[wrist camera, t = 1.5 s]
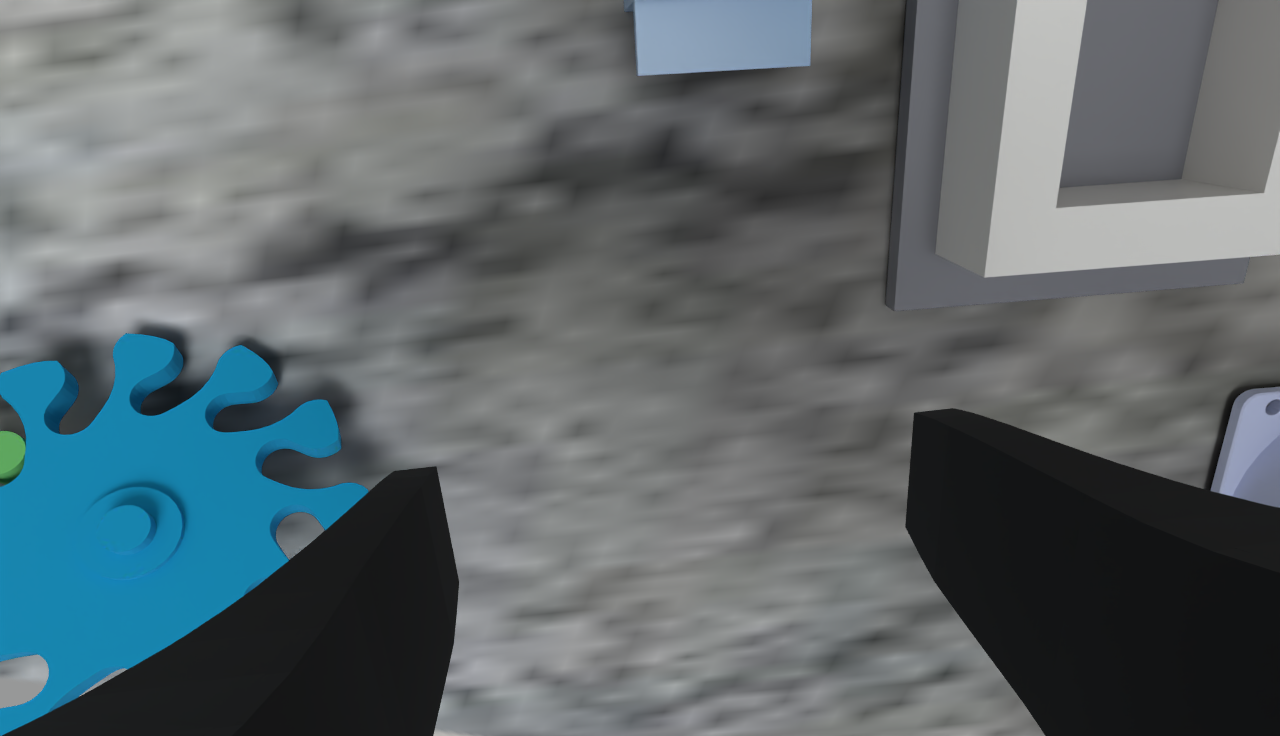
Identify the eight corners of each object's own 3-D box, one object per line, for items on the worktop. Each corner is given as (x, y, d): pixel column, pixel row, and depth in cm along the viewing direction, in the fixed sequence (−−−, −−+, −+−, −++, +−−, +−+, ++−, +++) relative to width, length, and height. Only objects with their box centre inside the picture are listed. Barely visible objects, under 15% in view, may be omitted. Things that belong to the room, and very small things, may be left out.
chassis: (1363, -293, 17) (1530, -370, 14) (1225, 277, 21) (1328, 308, 18) (926, -280, 16) (1005, -358, 13) (885, 304, 21) (936, 342, 18)
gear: (440, 422, 19) (210, 867, 14) (435, 481, 24) (265, 821, 20) (11, 238, 18) (-385, 656, 13) (102, 341, 23) (-160, 667, 19)
